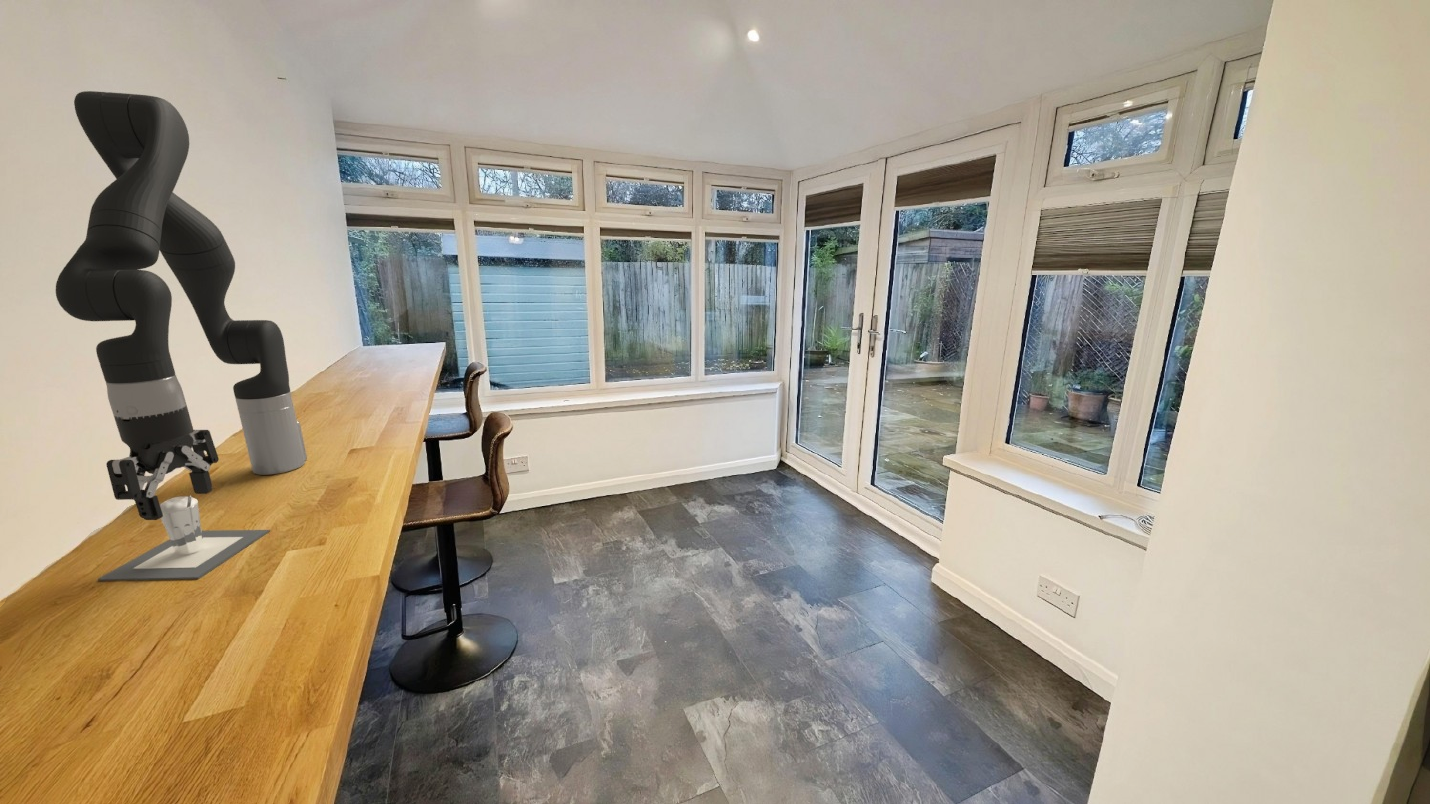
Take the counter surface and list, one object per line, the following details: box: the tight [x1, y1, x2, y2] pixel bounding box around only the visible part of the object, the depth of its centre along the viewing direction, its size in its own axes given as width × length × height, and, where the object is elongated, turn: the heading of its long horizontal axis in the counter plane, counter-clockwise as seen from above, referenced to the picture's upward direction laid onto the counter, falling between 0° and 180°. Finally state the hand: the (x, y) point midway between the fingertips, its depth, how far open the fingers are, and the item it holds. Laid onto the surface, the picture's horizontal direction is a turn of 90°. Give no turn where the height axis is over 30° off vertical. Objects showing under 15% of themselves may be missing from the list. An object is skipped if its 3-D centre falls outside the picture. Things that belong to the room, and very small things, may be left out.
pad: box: [97, 529, 271, 582], centre depth 83 cm, size 14×14×1 cm
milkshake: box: [159, 495, 204, 556], centre depth 82 cm, size 4×5×10 cm
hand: (179, 505), depth 82 cm, fingers open, 8 cm apart
